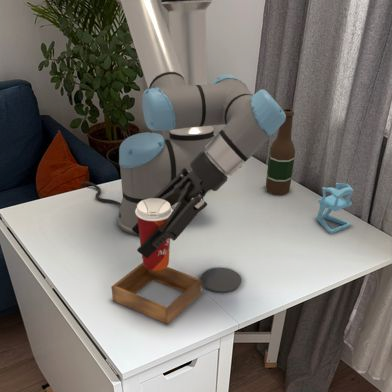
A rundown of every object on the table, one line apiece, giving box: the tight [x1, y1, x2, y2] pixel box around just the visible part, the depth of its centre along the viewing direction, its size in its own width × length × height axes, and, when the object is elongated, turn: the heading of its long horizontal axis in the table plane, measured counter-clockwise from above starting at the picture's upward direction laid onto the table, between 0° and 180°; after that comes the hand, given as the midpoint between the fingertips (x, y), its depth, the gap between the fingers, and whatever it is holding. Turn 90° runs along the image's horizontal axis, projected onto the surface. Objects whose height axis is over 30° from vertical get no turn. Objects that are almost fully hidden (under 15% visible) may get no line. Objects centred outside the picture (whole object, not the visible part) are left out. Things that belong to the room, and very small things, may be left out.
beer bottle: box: [265, 108, 296, 196], centre depth 153 cm, size 8×8×24 cm
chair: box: [316, 182, 354, 235], centre depth 142 cm, size 8×8×12 cm
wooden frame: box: [110, 261, 202, 325], centre depth 118 cm, size 16×14×4 cm
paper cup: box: [135, 198, 174, 271], centre depth 108 cm, size 8×8×14 cm
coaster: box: [199, 266, 242, 294], centre depth 124 cm, size 10×10×1 cm
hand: (139, 243), depth 109 cm, fingers closed on paper cup, 8 cm apart
